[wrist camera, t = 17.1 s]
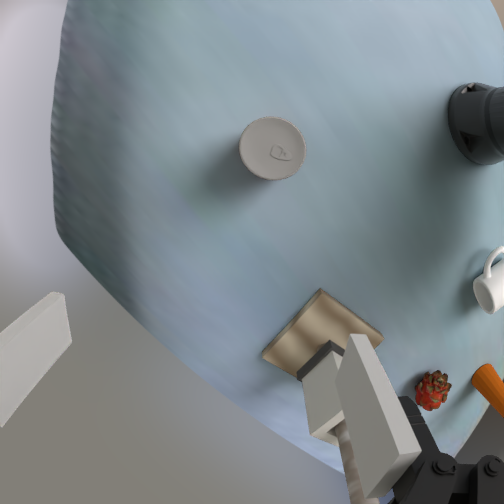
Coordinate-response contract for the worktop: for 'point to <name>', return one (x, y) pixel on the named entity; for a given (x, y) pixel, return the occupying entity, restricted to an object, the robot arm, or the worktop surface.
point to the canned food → (272, 148)
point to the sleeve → (323, 399)
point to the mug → (491, 284)
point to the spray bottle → (490, 386)
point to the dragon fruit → (432, 390)
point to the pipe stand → (308, 344)
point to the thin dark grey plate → (319, 358)
